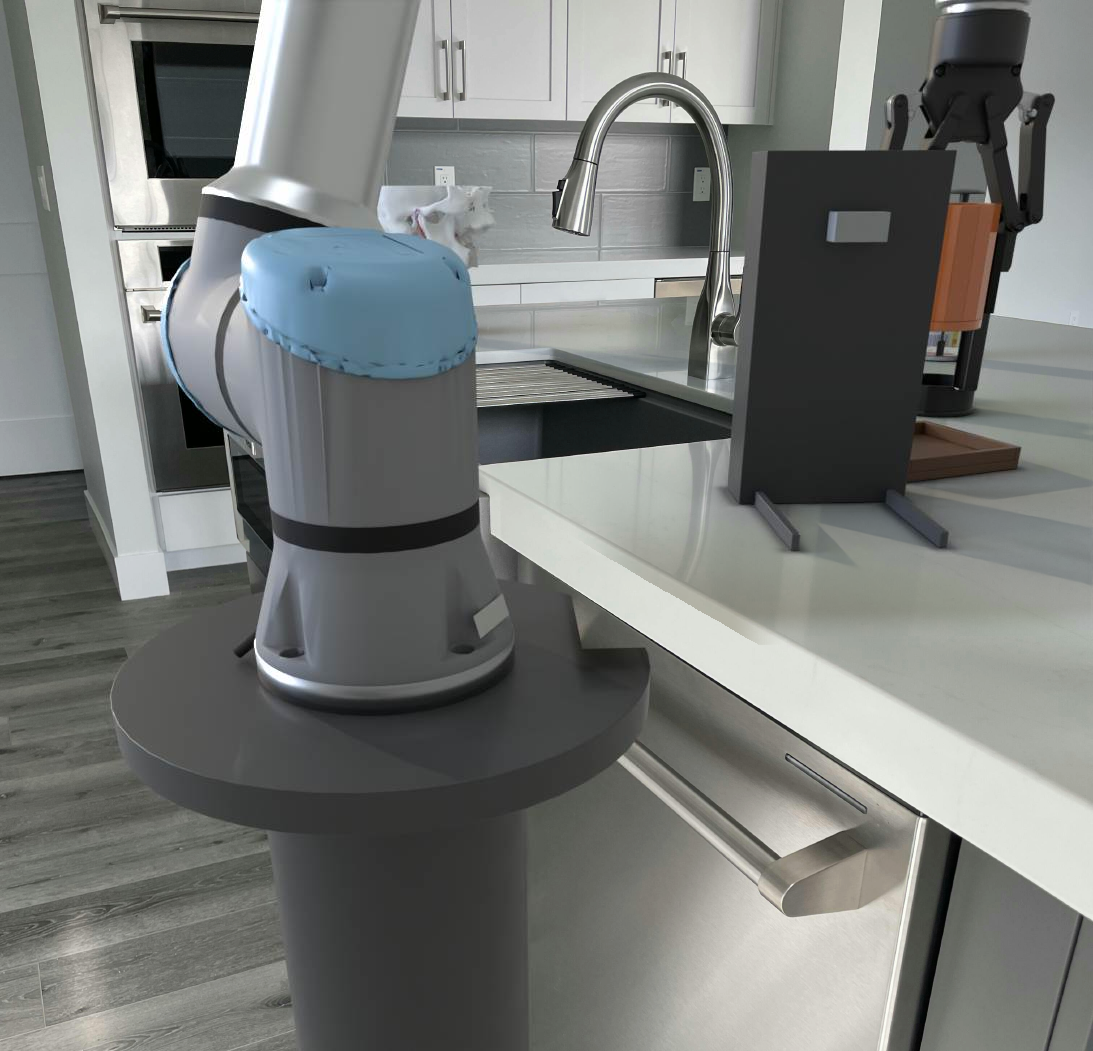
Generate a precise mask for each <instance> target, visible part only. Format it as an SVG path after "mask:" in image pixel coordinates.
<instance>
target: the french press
mask: <svg viewBox="0 0 1093 1051" xmlns="http://www.w3.org/2000/svg"><path fill="white" fill-rule="evenodd" d="M985 194H987V192H986V191H984V190H982V189H977V188H955V189H951V194H950V195H959V198H958V203H969V201H970V196H971V195H985ZM990 319H991V314H985V313H983V318H982V323H981V327H980V328H979V329H976V330H970V331H960V337H959V343H958V347H957V346H956V347H945V341H944V334H945V332H942V331H941V338H940V340H939V341H938V342H937V346H927V352H926V358H925V362H932V363H955V368H954V373H953V374H950V373H935V372H923V378H922V384H921V391H920V398H919V404H918V411H917V416H920V417H932V418H933V417H935V418H952V417H955V418H956V417H962V416H968V415H972V414H973V413H974V410H975V406H974V405H973V404H974V399H975V392H977V391H978V387H979V381H980V375H981V369H982V366H983V364H982V363H983V358H984V353H985V347H986V343H987V342H986V341H987V336H988V330H989V325H990Z"/></svg>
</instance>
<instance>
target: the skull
mask: <svg viewBox="0 0 1093 1051" xmlns="http://www.w3.org/2000/svg"><path fill="white" fill-rule="evenodd" d="M492 191H493V186H487V185H482V186H481V185H480V186H479V185H382V188H381V192H380V197H379V202H378V207H377V212H378V220H379V221H380V223H381V225H382V227H383V229H384V231H385V232H386V233H403V234H409V235H413V236H418V237H422V238H425V239H429V240H432V241H435V242H438V243H440V244H442V245H444V246H446V247H448V248H450V249H451V250H453V251H454V252H455V253H456V254H457V255H458V256H459V257H460V258H461V259H462V260H463V262H464V263H465V265H466V267H467V270H470V269H471V268H479V266H480V254H481V253H480V252H481V250H480V249H479V248H478V247H477V246H475V245H474V243H473V236H476V237H479V236H481V235H483V234H487V233H489V231H491V229H494V228H496V227H497V226H498V223H497V221H496V220H495V218H494V215H493V214H494V212H495V210H492V209H490V206H489V196H490V194H491V192H492Z"/></svg>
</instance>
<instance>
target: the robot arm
mask: <svg viewBox="0 0 1093 1051" xmlns="http://www.w3.org/2000/svg"><path fill="white" fill-rule="evenodd" d="M1034 1H1035V0H935V3H934V6H935V8H936V9H937V10H939V11H941V15H938V16H937V17H935V20H934V21H932V23H931V31H930V36H929V37H930V39H929V44H928V45H929V46H928V52H927V59H926V60H927V61H926V71H925V72H926V73H925V77H924V80H923V82H922V84H921V86H920V87H919V89H918V91H917V92H913V93H908V94H907V93H906V94H905V93H899V94H892V95H890V96H888V97H887V98H886V99H885V100H884V102H883V113H884V114H883V116H884V129H883V134H882V138H881V141H880V145H879V149H878V150H904V146H905V142H906V139H907V135H908V130H909V123H910V122H912V121H913V120H914V119H915V116H916V115H915V114H916V111H917V109H918V108H919V109H920V111H921V113H922V115H923V117H924V119H925V121H926V123H927V127H926V129H925V131H924V132H923V134H922V137H921V138H920V141H919V143H918V145H917V150H947V147H948V145H949V144H954V143H956V144H957V143H961V142H964V143H966V144H975V146H976V150H977V152H978V154H979V155H980V158H981V163H982V167H983V173H984V176H985V182H986V186H987V191H988V195H989V200H990V203H999V204H1002V206H1001V212H1000V218H999V223H998V229H997V235H996V241H995V247H994V253H993V259H992V265H991V271H990V277H989V283H988V289H987V294H986V300H985V306H984V312H983V313H985V314H990V315H991V314H995V308H996V302H997V296H998V290H999V286H1000V285H999V284H1000V280H1001V275H1002V273H1008V272H1009V271H1010V269H1011V268H1012V266H1013V258H1014V253H1015V248H1016V242H1017V237H1018V234H1020V233H1021V232H1023V231H1024V229H1025V228H1027V227H1029V226H1033V225H1037V224H1040V222H1042V220H1043V217H1044V204H1045V203H1044V202H1045V201H1044V200H1045V176H1046V155H1047V154H1046V153H1047V149H1046V148H1047V131H1048V130H1047V126H1048V124H1049V120H1050V118H1051V115H1052V111H1053V109H1054V106H1055V103H1056V98H1055V96H1054V94H1053V93H1051V92H1047V93H1040V94H1039V93H1034V92H1031V91H1025V90H1024V86H1023V83H1022V78H1021V74H1022V73H1021V72H1022V68H1023V66H1024V61H1025V56H1026V51H1027V45H1028V38H1029V32H1030V25H1031V21H1032V17H1031V16H1030V14H1029V13H1028V12H1027V11H1025V9H1026V7H1027V6H1030V4H1033V2H1034ZM421 3H422V0H262V2H261V7H260V8H261V9H260V14H259V20H258V26H257V32H256V38H255V43H254V48H253V49H254V50H253V55H252V61H251V65H250V72H249V78H248V84H247V88H246V89H247V91H246V95H245V97H246V98H245V101H244V106H243V107H244V108H243V112H242V118H241V125H240V131H239V135H238V136H239V137H238V143H237V148H236V154H235V160H234V165H233V166H232V167H231V168H230V170H229V171H228V172H227V173H225V174H224V175H222V176H220V177H219V178H217V179H215V180H213V181H212V182H210V183H209V184H207V185H206V186H204V187H202V189H201V190H202V191H201V196H200V202H199V209H198V214H197V221H196V225H195V226H196V227H195V231H194V232H195V233H194V239H193V244H192V249H191V255H190V256H189V257H188V258H187V259H186V260H185V261H184V262H183V263H182V264H181V265H180V266H179V268H178V269H177V271H176V273H175V274H174V276H173V277H172V278H171V280H170V283H169V284H168V287H167V289H166V290H165V294H164V297H163V300H162V301H163V302H162V306H161V312H160V336H161V343H162V348H163V353H164V356H165V359H166V362H167V365H168V366H169V369H170V372H171V373H172V375H173V377H174V378H175V381H176V382H177V384H178V385H179V387H180V388H181V390H182V391H183V392H184V393H185V395H186V396H187V397H188V398H189V399H190V400H191V401H192V403H193V404H194V405H195V407H196V408H197V409H198V410H199V411H201V413H202V414H204V415H205V417H206V418H208V419H209V420H210V421H211V422H213V423H214V424H215V425H217V426H218V427H220V428H222V429H224V430H226V431H227V432H229V433H230V434H231V435H234V436H236V437H239V438H242V439H246V440H249V441H251V442H252V443H254V444H256V445H258V446H260V447H262V448H261V449H262V456H263V462H264V471H265V479H266V480H265V481H266V486H267V495H268V496H267V497H268V503H269V509H270V518H271V519H270V520H271V527H272V536H273V538H272V539H273V548H272V554H271V559H270V563H269V570H268V574H267V578H266V582H265V583H266V584H265V587H264V591H265V592H264V591H263V592H264V597H263V602H262V607H261V611H260V616H259V621H258V626H257V628H256V629H255V630H254V631H253V632H252V633H251V634H250V635H248V636H247V637H246V638H245V639H244V640H243V641H242V642H240V643H239V644H238V645H237V646H236V647H235V648H234V649H233V652H234V654H235V655H236V656H237V657H239V658H242V657H243V656H244V655H245V654H246V653H248V652H249V651H250V650H251V649H252V648H253V647H255V655H256V662H257V669H258V676H259V679H260V681H261V683H262V684H263V685H264V687H265V688H266V689H268V690H269V691H270V692H271V693H273V694H274V695H275V696H277V697H279V698H281V699H283V700H285V701H287V702H290V703H292V704H295V705H298V706H301V707H305V708H308V709H313V710H317V711H323V712H329V713H336V714H347V715H391V714H403V713H411V712H418V711H424V710H429V709H434V708H439V707H443V706H447V705H450V704H454V703H457V702H460V701H463V700H466V699H468V698H471V697H473V696H475V695H478V694H480V693H482V692H484V691H486V690H487V689H489V688H491V687H492V686H494V685H495V684H497V683H498V682H500V681H501V680H502V679H503V678H504V677H505V676H506V675H507V674H508V672H509V671H510V670H511V668H512V666H513V663H514V657H515V650H514V627H513V624H512V621H511V617H510V615H509V612H508V609H507V606H506V603H505V600H504V596H503V594H502V592H501V590H500V587H499V584H498V581H497V579H498V577H497V576H496V573H495V570H494V568H493V565H492V562H491V560H490V557H489V553H488V551H487V549H486V546H485V543H484V540H483V537H482V533H481V532H482V530H481V513H480V512H481V511H480V510H481V508H480V469H479V467H480V464H479V430H478V429H479V428H478V394H477V393H478V392H477V391H478V390H477V389H478V388H477V357H476V355H477V353H476V352H477V350H476V346H477V344H478V338H479V328H478V321H477V315H476V312H475V305H474V300H473V298H474V297H473V290H472V281H471V276H470V272H469V269H467V267H466V265H465V263H464V262H463V260H462V259H461V258H460V257H459V256H458V255H457V254H456V253H455V252H454V251H453V250H451V249H450V248H448V247H446V246H444V245H442V244H440V243H438V242H435V241H432V240H429V239H425V238H422V237H418V236H413V235H409V234H403V233H386V232H385V231H384V229H383V227H382V225H381V223H380V221H379V220H378V212H377V207H378V202H379V197H380V192H381V188H382V186H383V183H384V178H385V173H386V168H387V163H388V159H389V154H390V150H391V144H392V140H393V136H394V131H395V126H396V125H395V124H396V122H397V121H396V120H397V116H398V111H399V108H400V107H399V106H400V102H401V97H402V92H403V88H404V83H405V78H406V74H407V68H408V64H409V60H410V55H411V51H412V50H411V49H412V46H413V41H414V40H413V39H414V35H415V30H416V26H417V21H418V16H419V13H420V6H421ZM1016 108H1017V109H1018V113H1017V117H1018V120H1019V121H1020V122H1021V123H1020V127H1019V136H1018V137H1019V138H1018V139H1019V140H1018V141H1019V142H1018V168H1017V169H1018V170H1017V171H1018V172H1017V173H1018V176H1017V195H1016V189H1015V184H1014V180H1013V175H1012V174H1013V173H1012V168H1011V164H1010V158H1009V155H1008V149H1007V148H1008V146H1009V144H1008V143H1009V141H1008V137H1007V131H1006V126H1005V122H1006V121H1007V120H1008V118H1009V117H1010V116H1011V115H1012V113H1013V112H1014V111H1015V109H1016Z"/></svg>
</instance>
